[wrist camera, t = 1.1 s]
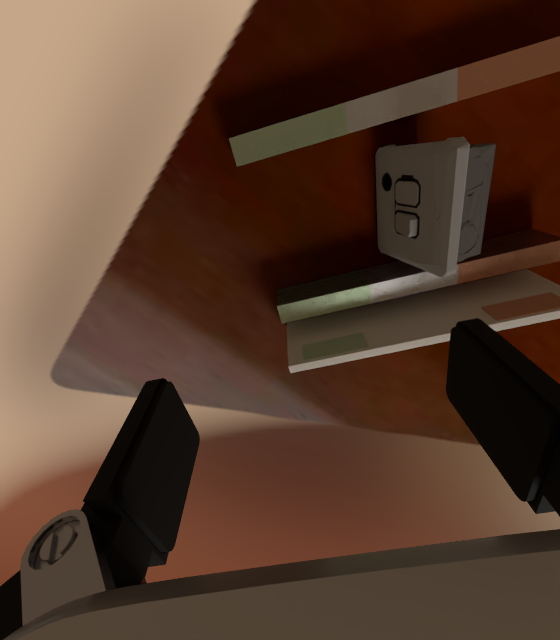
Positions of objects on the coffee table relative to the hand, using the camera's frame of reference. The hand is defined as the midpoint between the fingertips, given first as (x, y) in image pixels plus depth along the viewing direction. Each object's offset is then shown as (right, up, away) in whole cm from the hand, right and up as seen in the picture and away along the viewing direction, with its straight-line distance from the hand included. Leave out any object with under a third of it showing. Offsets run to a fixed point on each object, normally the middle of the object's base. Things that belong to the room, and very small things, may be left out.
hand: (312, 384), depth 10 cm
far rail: (+11, +7, +22) cm, 26 cm away
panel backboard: (+12, +4, +23) cm, 27 cm away
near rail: (+8, +20, +15) cm, 26 cm away
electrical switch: (+11, +14, +18) cm, 25 cm away
